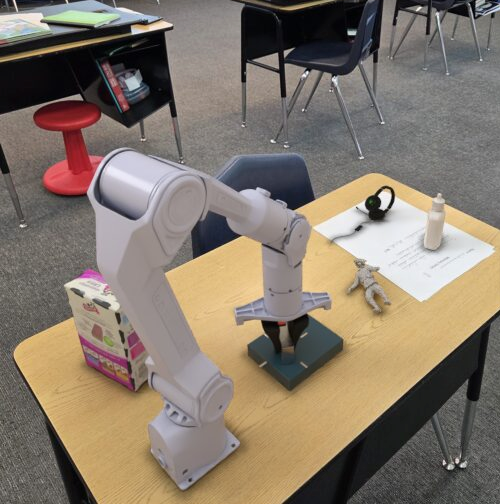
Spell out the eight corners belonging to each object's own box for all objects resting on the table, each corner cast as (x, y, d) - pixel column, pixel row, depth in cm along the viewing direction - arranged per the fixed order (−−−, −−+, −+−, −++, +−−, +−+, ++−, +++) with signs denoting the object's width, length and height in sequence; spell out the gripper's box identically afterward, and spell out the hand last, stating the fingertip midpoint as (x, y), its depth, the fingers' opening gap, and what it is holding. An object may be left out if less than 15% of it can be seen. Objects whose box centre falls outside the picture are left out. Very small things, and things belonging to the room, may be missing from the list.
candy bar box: (158, 371, 85) (143, 291, 77) (135, 393, 82) (116, 312, 73) (109, 344, 90) (88, 266, 82) (84, 364, 87) (61, 284, 78)
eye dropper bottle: (415, 243, 115) (422, 194, 108) (432, 233, 118) (440, 185, 111) (431, 252, 112) (439, 203, 106) (448, 242, 115) (457, 194, 109)
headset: (321, 249, 123) (379, 193, 129) (343, 263, 118) (402, 204, 124) (312, 229, 118) (372, 173, 125) (334, 243, 113) (396, 183, 120)
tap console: (282, 398, 81) (282, 386, 80) (239, 360, 87) (238, 348, 86) (343, 350, 89) (344, 338, 88) (300, 319, 95) (300, 307, 94)
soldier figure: (360, 321, 96) (332, 268, 103) (373, 325, 100) (345, 273, 107) (394, 296, 94) (363, 243, 101) (406, 301, 98) (375, 249, 104)
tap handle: (294, 362, 83) (294, 345, 82) (282, 365, 83) (282, 347, 81) (285, 335, 88) (285, 318, 86) (274, 337, 88) (274, 320, 86)
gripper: (323, 256, 83) (321, 322, 90) (229, 271, 80) (234, 337, 87) (336, 285, 77) (333, 353, 85) (236, 302, 74) (241, 371, 82)
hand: (284, 347), depth 86 cm, fingers closed on tap handle, 2 cm apart
